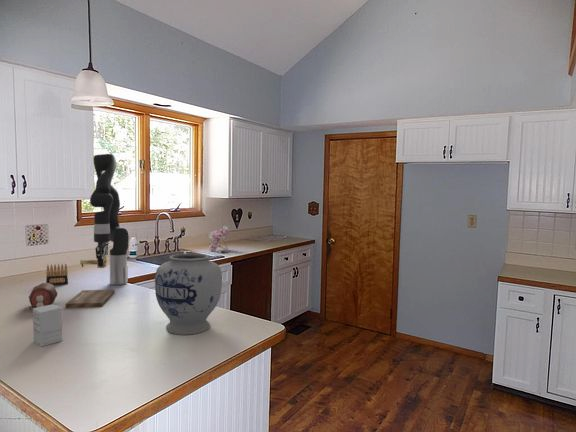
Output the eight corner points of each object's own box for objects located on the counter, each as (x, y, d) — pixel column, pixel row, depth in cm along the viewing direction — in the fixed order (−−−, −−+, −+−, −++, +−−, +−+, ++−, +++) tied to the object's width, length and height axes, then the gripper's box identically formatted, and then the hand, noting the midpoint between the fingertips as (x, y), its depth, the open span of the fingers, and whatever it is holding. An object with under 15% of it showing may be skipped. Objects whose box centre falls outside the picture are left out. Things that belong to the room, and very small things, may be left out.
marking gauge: (107, 266, 205) (107, 254, 204) (104, 267, 200) (104, 256, 199) (82, 265, 203) (82, 254, 202) (79, 267, 198) (79, 256, 197)
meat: (54, 311, 178) (54, 290, 177) (24, 314, 174) (23, 292, 173) (60, 299, 196) (59, 279, 195) (33, 301, 192) (32, 281, 191)
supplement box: (54, 336, 150) (54, 303, 149) (62, 341, 145) (62, 307, 144) (32, 341, 144) (32, 307, 143) (40, 347, 139) (39, 312, 139)
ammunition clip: (46, 285, 222) (45, 264, 221) (46, 284, 223) (46, 264, 222) (67, 284, 226) (67, 263, 225) (68, 283, 228) (67, 263, 227)
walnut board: (114, 293, 210) (114, 289, 210) (102, 306, 186) (102, 302, 186) (82, 294, 207) (82, 290, 207) (65, 307, 183) (65, 303, 183)
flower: (228, 247, 366) (216, 223, 360) (240, 248, 347) (228, 223, 341) (210, 258, 355) (198, 234, 349) (221, 259, 337) (209, 234, 331)
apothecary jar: (154, 319, 171) (154, 251, 168) (215, 314, 180) (215, 249, 178) (156, 343, 146) (156, 263, 143) (227, 335, 155) (228, 260, 153)
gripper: (105, 234, 194) (105, 268, 195) (113, 230, 208) (113, 262, 210) (89, 234, 193) (89, 268, 194) (98, 230, 207) (98, 262, 208)
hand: (102, 265), depth 202 cm, fingers closed on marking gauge, 5 cm apart
